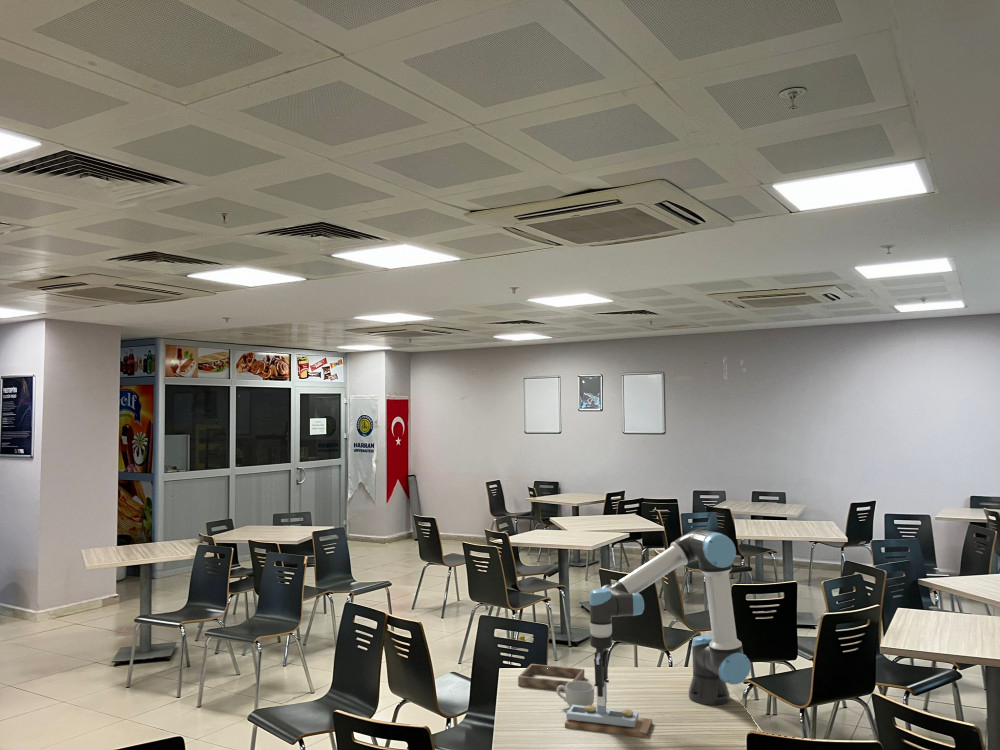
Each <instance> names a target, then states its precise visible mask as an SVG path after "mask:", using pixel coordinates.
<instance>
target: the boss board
mask: <svg viewBox="0 0 1000 750" xmlns="http://www.w3.org/2000/svg"><path fill="white" fill-rule="evenodd" d="M596 707H597V706H595V705H593V704H592V705H587V706H585V707H584V710H585V711H587V712H588V713H593V712H594V711H596ZM621 710H622V711H621V714H622V715H624V717H630V716H632V715H633V711H634V710H631V709H621ZM652 725H653V719H652V718H647V717H646V718H645V717H644V718H643V717H639V718H638V720H637V722H636V725H635V727H628V726H619V725H611V724H603V723H594V722H586V721H578V720H569V719H567V718H566V721H565V722H564V728H566V729H567V728H568V729H573V730H574V729H576V730H583V731H589V732H590V731H591V732H597V733H598V732H600V733H607V734H613V735H614V734H615V735H623V736H629V737H638V738H648V735H649V732H651V731H650V730H651V727H652Z"/></svg>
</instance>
